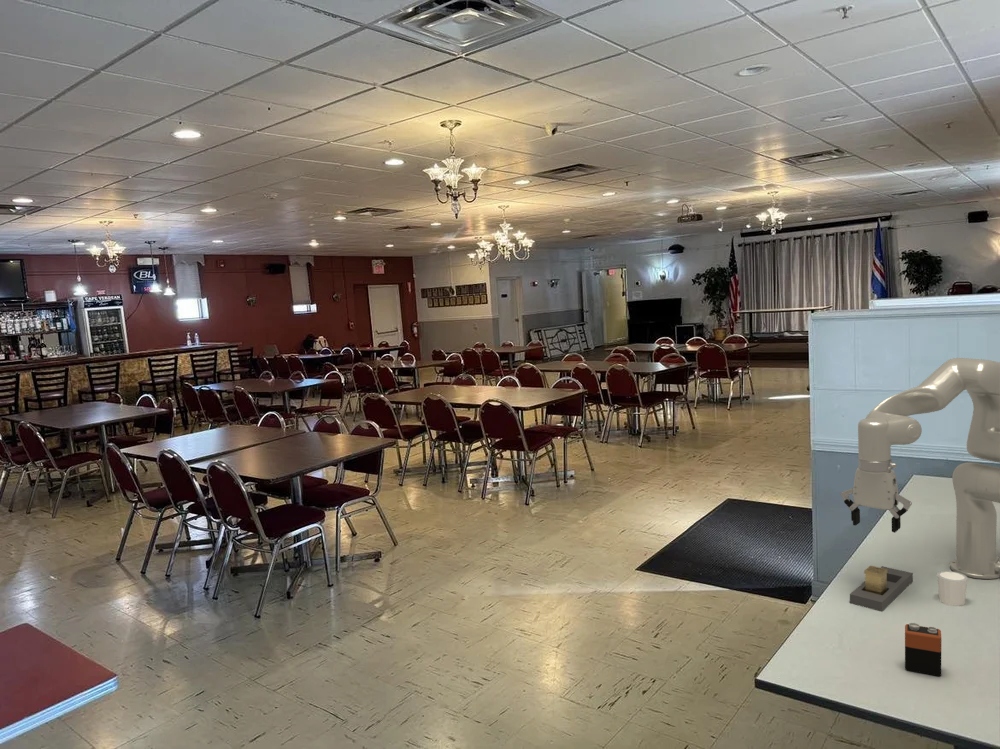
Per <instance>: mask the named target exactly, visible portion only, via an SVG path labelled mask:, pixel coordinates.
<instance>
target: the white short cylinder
mask: <svg viewBox="0 0 1000 749" xmlns="http://www.w3.org/2000/svg"><path fill="white" fill-rule="evenodd" d="M936 577H937V578H936V579H937V586H938V588H937V589H938V598H939V599H938V600H939V601H940V602H941V603H943V604H945V605H949V606H952V607H953V606H955V607H957V606H959V607H960V606H961V607H962V606H963V605H965V603H966V595H967V588H968V578H969V577H968V576H965V575H963V574H961V573H957V572H954V571H953V570H942V571H938V572H937V573H936Z"/></svg>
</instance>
